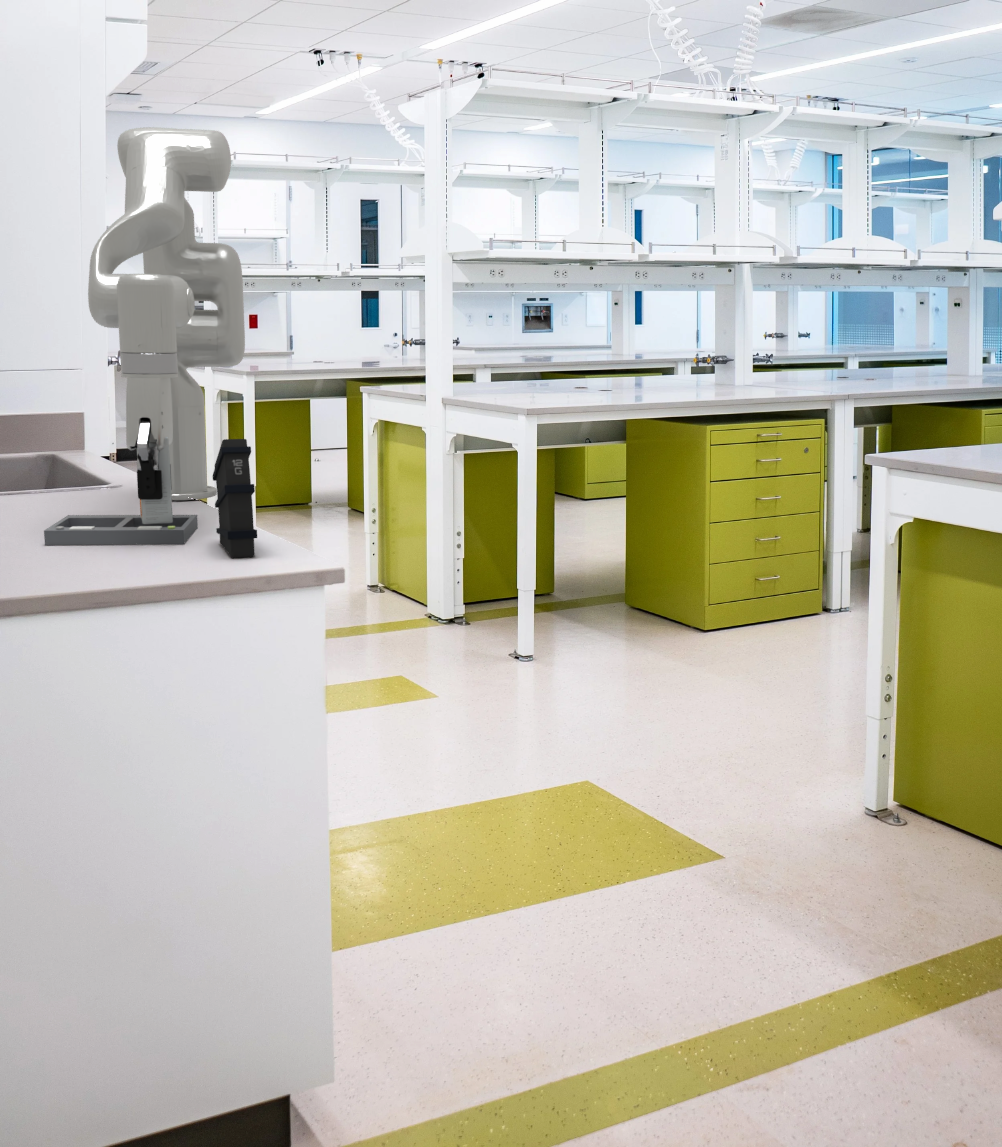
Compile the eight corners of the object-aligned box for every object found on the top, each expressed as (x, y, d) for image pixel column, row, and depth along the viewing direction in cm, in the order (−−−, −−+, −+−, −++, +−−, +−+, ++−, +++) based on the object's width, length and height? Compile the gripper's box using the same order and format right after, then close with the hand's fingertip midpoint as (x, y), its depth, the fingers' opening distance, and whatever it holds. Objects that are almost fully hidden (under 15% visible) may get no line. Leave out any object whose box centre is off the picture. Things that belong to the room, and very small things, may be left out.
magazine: (231, 550, 150) (220, 438, 153) (220, 575, 162) (210, 471, 165) (261, 549, 151) (249, 437, 154) (248, 574, 163) (237, 470, 166)
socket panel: (68, 528, 173) (67, 513, 173) (197, 528, 175) (197, 512, 175) (44, 545, 160) (43, 528, 160) (184, 544, 162) (183, 527, 162)
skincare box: (139, 518, 170) (135, 433, 167) (170, 516, 171) (167, 433, 169) (141, 524, 164) (137, 437, 162) (173, 523, 165) (169, 437, 163)
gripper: (133, 364, 171) (139, 487, 175) (107, 368, 154) (114, 504, 158) (186, 364, 172) (191, 487, 176) (166, 368, 155) (172, 504, 159)
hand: (155, 494), depth 167 cm, fingers closed on skincare box, 6 cm apart
